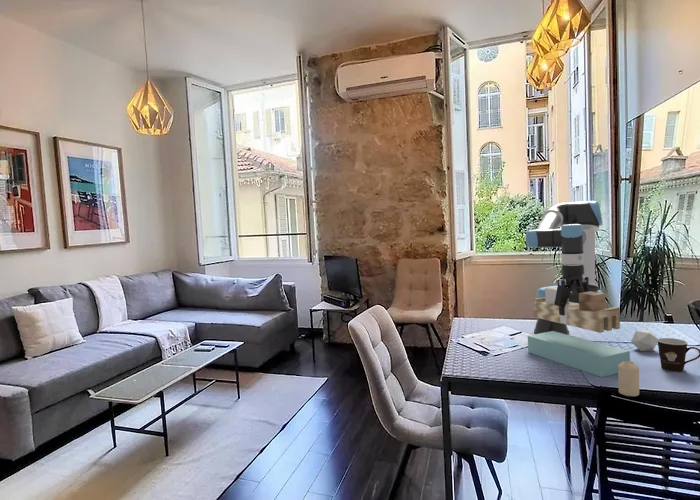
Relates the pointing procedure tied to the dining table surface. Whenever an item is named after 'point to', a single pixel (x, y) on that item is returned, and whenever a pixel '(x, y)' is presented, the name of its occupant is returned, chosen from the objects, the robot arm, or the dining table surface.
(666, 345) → the coffee mug
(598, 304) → the brown wooden cube
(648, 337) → the die
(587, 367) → the dock
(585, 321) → the board
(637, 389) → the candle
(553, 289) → the light grey cube
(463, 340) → the dining table surface
